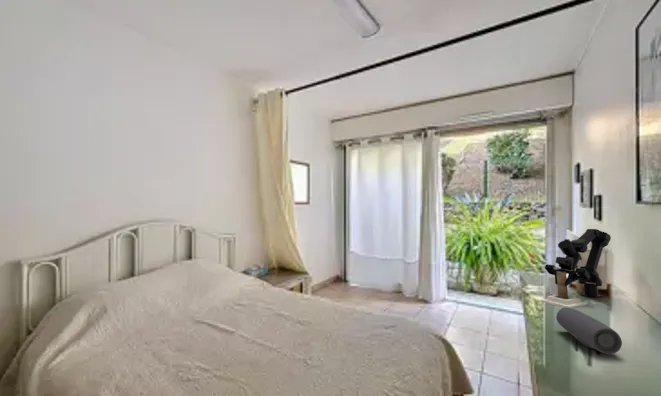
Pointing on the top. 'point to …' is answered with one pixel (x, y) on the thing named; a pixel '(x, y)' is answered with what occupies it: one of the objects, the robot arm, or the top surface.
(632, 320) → the top surface
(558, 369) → the top surface
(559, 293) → the dowel
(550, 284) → the white cup
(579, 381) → the top surface
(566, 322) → the bluetooth speaker
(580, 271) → the robot arm
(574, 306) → the socket
